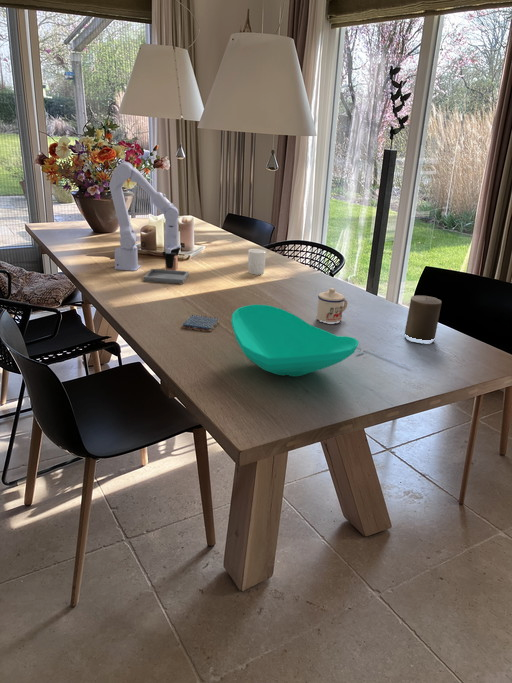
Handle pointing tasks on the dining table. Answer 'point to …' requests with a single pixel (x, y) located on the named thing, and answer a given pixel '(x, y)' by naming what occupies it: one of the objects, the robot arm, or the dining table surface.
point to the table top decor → (287, 341)
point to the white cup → (256, 261)
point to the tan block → (175, 264)
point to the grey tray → (166, 276)
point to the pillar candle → (423, 317)
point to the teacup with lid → (331, 306)
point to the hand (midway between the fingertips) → (171, 266)
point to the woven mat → (200, 323)
